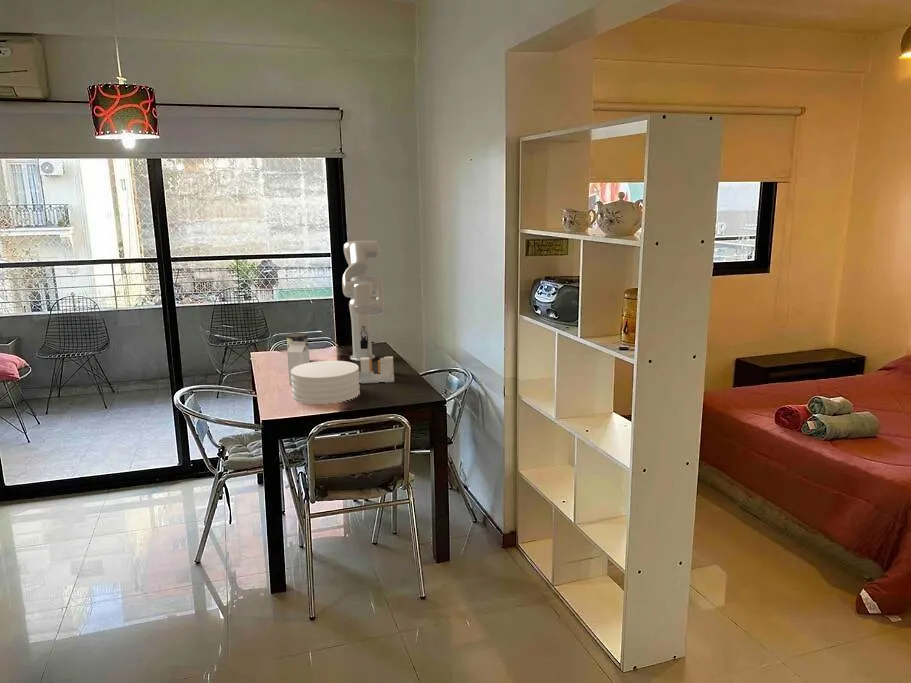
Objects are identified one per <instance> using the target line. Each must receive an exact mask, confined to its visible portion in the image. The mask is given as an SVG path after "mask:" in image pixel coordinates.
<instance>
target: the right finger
mask: <svg viewBox="0 0 911 683" xmlns="http://www.w3.org/2000/svg"><path fill="white" fill-rule="evenodd" d="M372 360H373V359H372ZM372 360H371V359H370V360H369V357H363V358H361V359H360V361H359V362H360V372H370V371H373V362H372Z"/></svg>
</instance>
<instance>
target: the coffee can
mask: <svg viewBox="0 0 911 683" xmlns="http://www.w3.org/2000/svg"><path fill="white" fill-rule="evenodd" d="M290 341H295V342H305V344H306V346H307V347H308V348H309V342H308V341H309V340H308V333H306V332H292V333H287V334H286V343H287V344H286V345H287V346H286V347H287V350H288V349H289V346H290Z"/></svg>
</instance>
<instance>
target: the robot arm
mask: <svg viewBox="0 0 911 683" xmlns="http://www.w3.org/2000/svg"><path fill="white" fill-rule="evenodd" d="M380 253H381V248H380V244H379V242H378V241H377V240H375V239H374V240H372V239H371V240H370V239H369V240H351V241H350V240H349V241H346V242H345V243H344V244H343V254H344V257H345V260H346V263H347V264H348V266H347V268H346V269H345V271H344V273H343V274H342V279H341V280H342V281H341V284H342V293H343V295H344V297H346V298H351V299H350V300H349V302H348V307H349V308H348V309H349V313H350V320H351V322H350V323H351V336H352V337H351V338H352V339H351V340H352V355H350V356H349V359H350V360H352V361H354V360H355V361H354V362H361V361H360V359H361V358H363V357H369V360H370V359H371V360H374V359H375V358H376V355H375V354H374V353H372V351H373V350H372V349H373V348H372V328H371V327H372V325H371V323H370V318H369V317H370V316H381V315H383V314H384V311H385V304H384V302H385V301H384V299H385V298H384V286H383V281H382V278H381V277H380V276H379V275H378V276H377V275H368V270H369V259H374V258H375V259H377V258H379V256H380Z"/></svg>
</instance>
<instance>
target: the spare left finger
mask: <svg viewBox="0 0 911 683" xmlns="http://www.w3.org/2000/svg"><path fill="white" fill-rule="evenodd" d="M383 358H389V374H392V373H394V372H395V371H394V356H384V357H383Z"/></svg>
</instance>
